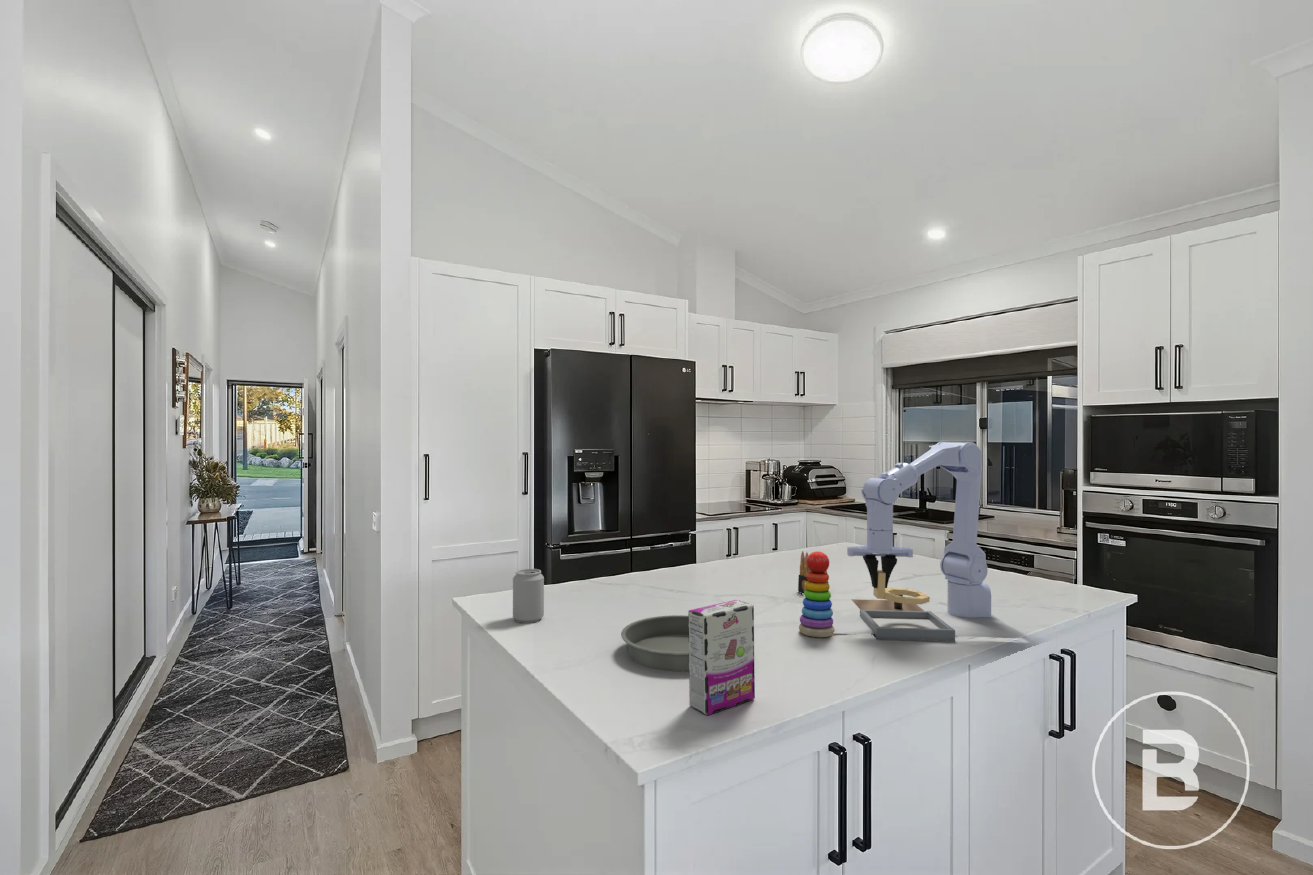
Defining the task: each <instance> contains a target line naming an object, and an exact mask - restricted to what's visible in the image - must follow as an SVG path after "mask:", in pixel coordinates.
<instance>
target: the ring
mask: <svg viewBox="0 0 1313 875" xmlns="http://www.w3.org/2000/svg"><path fill="white" fill-rule="evenodd" d="M885 575H886V573H885V572H883V571H882V569H878V571H877V580H878V585H877V588H874V587H873V593H872V594H873V596H874V597H875V598H876V600H890V601H894V602H898V603H903V604H917V605H923V604H927V603H930V595H928V594H926V593H925V592H924V591H919V590H914V589H910V588H899V587H887V588H885ZM894 594H896V595H894ZM898 595H903V596H898Z"/></svg>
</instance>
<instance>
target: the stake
mask: <svg viewBox="0 0 1313 875" xmlns="http://www.w3.org/2000/svg"><path fill="white" fill-rule="evenodd" d="M894 595H896V594H894ZM898 596H903V597H904V595H898ZM894 609H899V610H900V609H902V603H898V602H894Z"/></svg>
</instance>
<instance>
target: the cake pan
mask: <svg viewBox="0 0 1313 875" xmlns="http://www.w3.org/2000/svg"><path fill="white" fill-rule="evenodd" d="M620 637H621V639H622V640H623V641H624V643H626V646H627V649H628V653H629V656H630V658H631V659H632V660H633V661H634V662H636V663H638V664H641V665H643V666H645V667H649V668H653V669H656V670H657V669H658V670H664V671H672V672H673V671H675V672H677V671H678V672H689V618H688V615H678V614H677V615H676V614H675V615H673V614H672V615H671V614H670V615H657V616H652V617H647V618H642V619H639V620H636V621H633V622H631V623H629V624H627V625H626V626H625V627H623V629H622V630H621V633H620Z"/></svg>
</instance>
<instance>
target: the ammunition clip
mask: <svg viewBox="0 0 1313 875" xmlns="http://www.w3.org/2000/svg"><path fill="white" fill-rule="evenodd" d="M805 552H806V553H805ZM805 552H804V551H803V550H802V551H801V553H800V563H799V574H798V578H797V580H798V582H797V588H798V589H797V592H798V591H799V592H801V593H800V594H802V593H804V591H805V590H806V588H805V583H806V582H807V581H809V580H808V579H807V573H809V572H811V570H810V569H809V568H808V566H807V558H808V556H809V553H808V551H805ZM825 573H827V574H828V569H827V570H826V571H825ZM827 583H828V584H829V580H828V581H827ZM828 591H829V592H830V590H828ZM799 592H798V593H799Z"/></svg>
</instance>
